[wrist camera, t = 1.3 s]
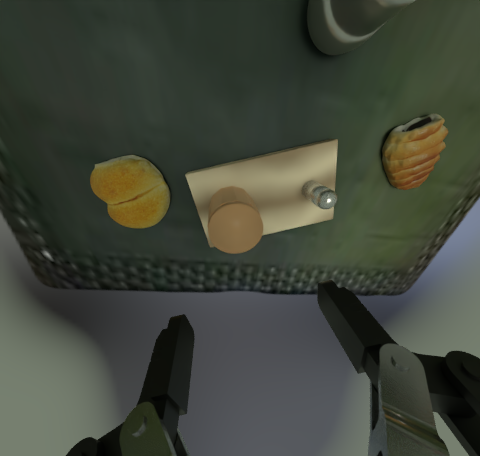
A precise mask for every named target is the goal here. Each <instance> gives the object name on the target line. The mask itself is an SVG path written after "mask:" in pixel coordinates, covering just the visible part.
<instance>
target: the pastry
mask: <svg viewBox="0 0 480 456" xmlns="http://www.w3.org/2000/svg"><path fill="white" fill-rule="evenodd" d="M444 121H445V120H444V119H443V118H442V117H441V116H440V115H438V114H429V115H427V116H425V117H422V118H416V119H413V120H411V121H410V122H408V123H407V124H405V125H404V126H403V125H401V126H398V127H396V128H394V129H393V130H392V131H391V133H390V134H389V136H388V138H387V139H386V141H385V143H384V146H383V149H382V152H383V158H382V161H383V166H384V169H385V172H386V174H387V177H388V180H389V182H390V184H392V185H393V186H394V187H396V188H398V189H403V190H407V189H411V188H416V187H419V186H420V185H421V184H422V183H423V182H424V181H425V180H426V179H427V177H428V175H429V173H430V172H431V171H432V170H433V169H434V164H435V163H436V162H437V161H438V160H439V159H440V156H439V154H440V152H441V151H442V150H443V149H444V148H445V143H444V142H443V139H444V138H445V136H446V135H447V134H448V130H447V128H446V127H445V126H443V123H444Z"/></svg>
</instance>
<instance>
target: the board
mask: <svg viewBox="0 0 480 456" xmlns="http://www.w3.org/2000/svg"><path fill="white" fill-rule="evenodd" d="M337 145H338V140H337V139H329V140H324V141H320V142H316V143H311V144H307V145H303V146H299V147H294V148H290V149H286V150H281V151H277V152H273V153H268V154H264V155H260V156H255V157H251V158H247V159H242V160H238V161H234V162H229V163H225V164H221V165H216V166H212V167H208V168H203V169H199V170H195V171H190V172H187V173H186V174H185V176H186V178H187V181H188V184H189V187H190V190H191V193H192V196H193V199H194V202H195V205H196V207H197V210H198V213H199V216H200V219H201V222H202V225H203V228H204V231H205V234H206V236H207V239H208V242H209V245H210V248H211V247H215V246H214V245H213V244H212V242H211V240H210V238H209V235H208V227H207V224H208V213H209V206H210V202H211V198H212V196H213V195H214V194H215V193H216V192H217V191H218V190H220V189H221V188H225V187H229V186H235V187H238V188H242V189H244V190H245V191H246V192H247V193H248V194H249V195H250V197H251V198H252V200H253V201H254V203H255V205H256V207H257V209H258V211H259V213H260V217H261V219H262V222H263V234H262V235H266V234H270V233H275V232H279V231H283V230H287V229H292V228H296V227H300V226H305V225H309V224H313V223H317V222H322V221H326V220H330V219H333V210H334V206H333V207H332V208H330V209H321V208H319V207H317V206H316V205H315V204H314V203H312V202H311V201H310V200H308V199H307V198H306V197H304V196H303V195H302V187H303V185H304V184H305V183H306V182H308V181H311V180H313V181H316V182H318V183H320V184H322V185H324V186H326V187H328V188H329V189H331V190H333V191H334V192H335V178H336V161H337Z"/></svg>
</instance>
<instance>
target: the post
mask: <svg viewBox="0 0 480 456" xmlns="http://www.w3.org/2000/svg"><path fill="white" fill-rule="evenodd" d="M302 195H303V196H304V197H306V198H307V199H308V200H310V201H311V202H312V203H314V204H315V205H316V206H317V207H319V208H321V209H330V208H332V207H333V206H334V205H335V204H336V202H337V194H336V193H335V192H334V191H333V190H331V189H329V188H328V187H326V186H324V185H322V184H320V183H318V182H316V181H313V180H311V181H308V182H306V183H305V184H304V185H303V187H302Z"/></svg>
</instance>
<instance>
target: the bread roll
mask: <svg viewBox="0 0 480 456" xmlns="http://www.w3.org/2000/svg"><path fill="white" fill-rule="evenodd" d="M90 183H91V187H92V190H93V192H94V193H95V194H96V195H97V196H98V197H99V198H100V199H102V200H103V201H105V202H106V203H107V204H108V213H109V215H110V217H111V218H112V219H113V220H115V221H116V222H117V223H119V224H121V225H123V226H126V227H131V228H146V227H150V226H153V225H155V224H157V223H158V222H159V221H160V220H161V219H162V218H163V217H164V216H165V214H166V212H167V210H168V208H169V205H170V191H169V187H168V186H167V184H166V182H165V181H164V178H163V176H162V174H161V173H160V171H159V170H158V169H157V168H156V167H155V166H154V165H153V164H152V163H151V162H149V161H148V160H147V159H145V158H142V157H139V156H135V155H128V156H122V157H118V158H114V159H110V160H109V161H105V162H102V163H99V164H95V169H94V170H93V172H92V174H91V178H90Z"/></svg>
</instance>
